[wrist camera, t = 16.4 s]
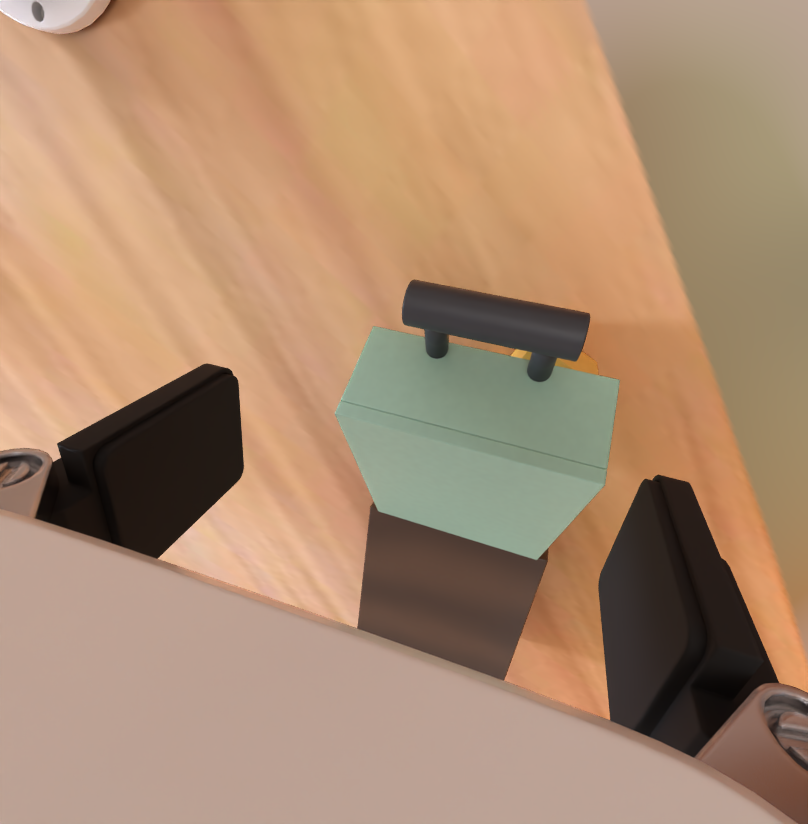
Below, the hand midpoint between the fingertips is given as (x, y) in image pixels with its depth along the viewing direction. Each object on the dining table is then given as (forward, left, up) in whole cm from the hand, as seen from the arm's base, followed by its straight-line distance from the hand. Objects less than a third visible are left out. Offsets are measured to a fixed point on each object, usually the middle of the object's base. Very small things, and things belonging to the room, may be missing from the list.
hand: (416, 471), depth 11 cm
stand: (+20, 0, -18) cm, 27 cm away
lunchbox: (+6, 0, -8) cm, 11 cm away
